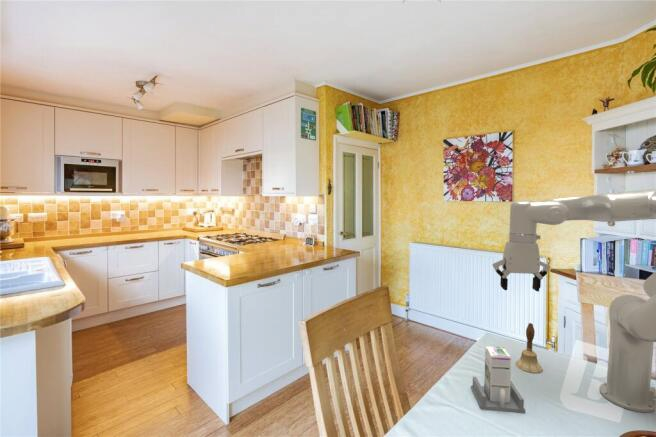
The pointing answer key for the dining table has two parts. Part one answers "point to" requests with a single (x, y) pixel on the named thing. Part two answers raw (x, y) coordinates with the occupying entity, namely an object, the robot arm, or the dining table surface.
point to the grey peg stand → (513, 406)
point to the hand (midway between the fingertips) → (519, 289)
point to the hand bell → (529, 354)
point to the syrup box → (497, 373)
